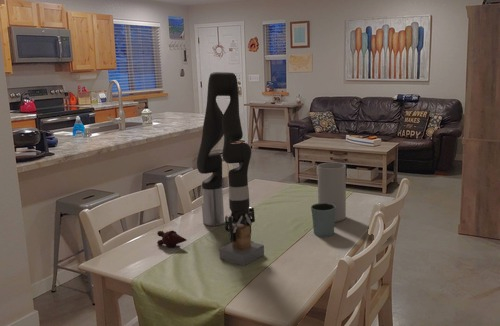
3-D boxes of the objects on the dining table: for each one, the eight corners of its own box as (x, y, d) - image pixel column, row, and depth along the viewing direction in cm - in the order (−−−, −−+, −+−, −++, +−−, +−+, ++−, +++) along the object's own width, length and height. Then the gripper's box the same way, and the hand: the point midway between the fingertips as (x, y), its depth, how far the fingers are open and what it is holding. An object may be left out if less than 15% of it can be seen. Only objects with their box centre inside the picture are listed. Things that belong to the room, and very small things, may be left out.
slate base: (219, 258, 178) (219, 248, 177) (240, 248, 187) (240, 238, 186) (243, 265, 171) (243, 255, 170) (264, 254, 180) (263, 245, 179)
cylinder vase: (315, 221, 214) (314, 168, 209) (321, 212, 226) (321, 162, 220) (342, 223, 210) (342, 169, 204) (347, 214, 221) (347, 163, 216)
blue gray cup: (338, 230, 201) (338, 203, 199) (332, 239, 192) (331, 211, 190) (315, 228, 206) (315, 201, 203) (308, 236, 197) (307, 208, 194)
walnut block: (232, 247, 178) (231, 227, 176) (240, 243, 182) (239, 223, 180) (242, 250, 175) (241, 230, 173) (250, 245, 178) (249, 226, 177)
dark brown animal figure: (192, 230, 191) (163, 228, 199) (180, 231, 185) (151, 230, 192) (191, 247, 191) (163, 245, 198) (180, 249, 184) (151, 247, 192)
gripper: (243, 190, 182) (245, 230, 185) (218, 199, 171) (220, 241, 174) (258, 193, 177) (260, 234, 180) (233, 203, 166) (236, 246, 170)
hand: (241, 237), depth 177 cm, fingers open, 8 cm apart
